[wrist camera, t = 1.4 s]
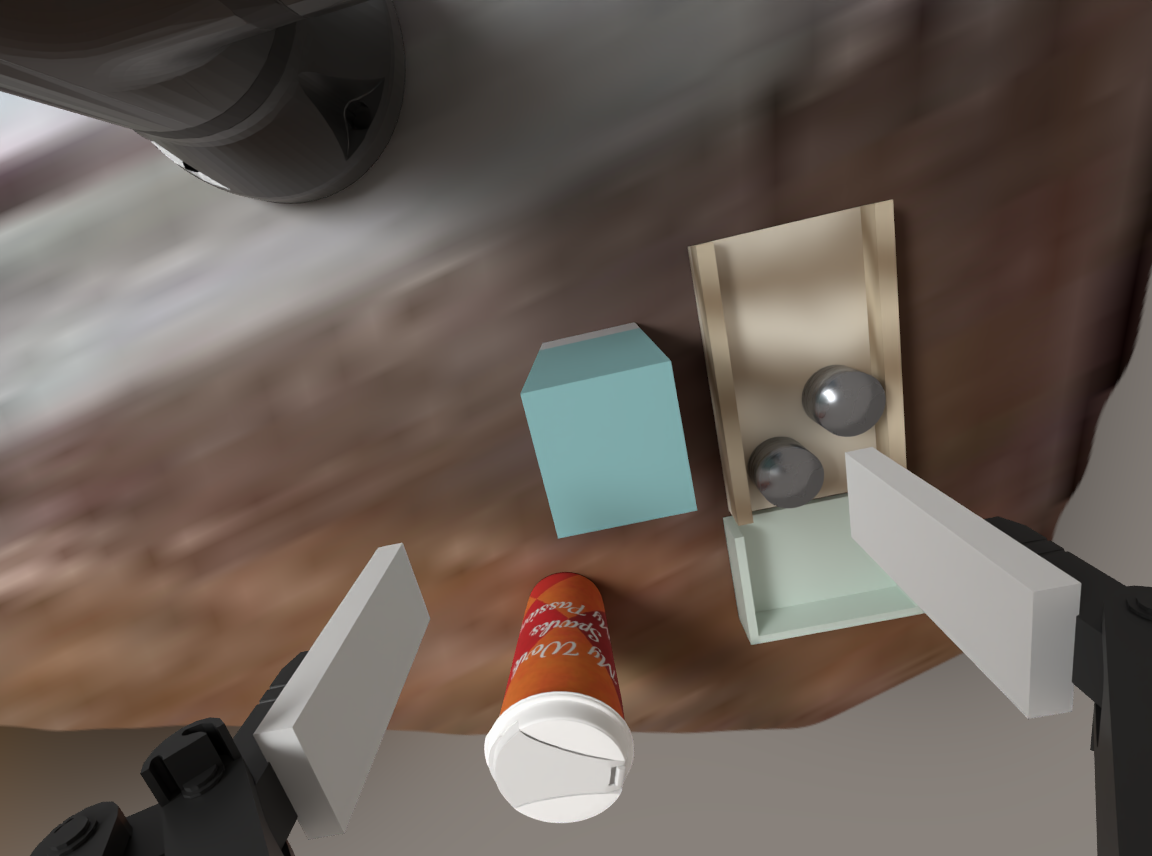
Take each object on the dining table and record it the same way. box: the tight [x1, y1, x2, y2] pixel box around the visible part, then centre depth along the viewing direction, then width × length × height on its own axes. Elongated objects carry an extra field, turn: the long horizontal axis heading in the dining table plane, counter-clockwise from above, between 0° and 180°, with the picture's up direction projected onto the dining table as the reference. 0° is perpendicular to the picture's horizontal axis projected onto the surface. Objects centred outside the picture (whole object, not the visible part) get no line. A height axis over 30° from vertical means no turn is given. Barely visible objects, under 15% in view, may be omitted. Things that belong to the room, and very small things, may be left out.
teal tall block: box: [521, 322, 697, 538], centre depth 29 cm, size 6×6×14 cm
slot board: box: [688, 199, 907, 526], centre depth 34 cm, size 18×11×2 cm, turn 13°
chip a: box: [802, 365, 886, 437], centre depth 34 cm, size 4×4×2 cm
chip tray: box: [723, 493, 925, 645], centre depth 38 cm, size 8×12×3 cm
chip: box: [748, 437, 824, 508], centre depth 35 cm, size 4×4×2 cm
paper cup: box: [484, 572, 634, 823], centre depth 34 cm, size 8×8×14 cm
